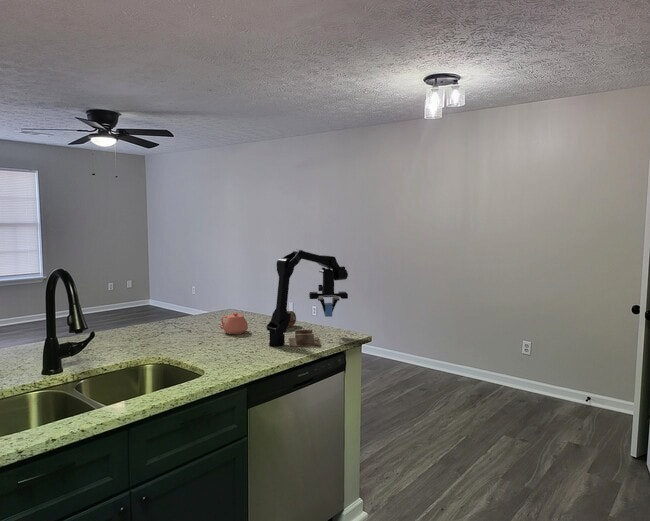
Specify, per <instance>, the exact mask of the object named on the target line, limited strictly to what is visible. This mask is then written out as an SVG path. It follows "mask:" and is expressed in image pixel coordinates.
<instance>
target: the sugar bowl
mask: <svg viewBox="0 0 650 521" xmlns="http://www.w3.org/2000/svg"><path fill="white" fill-rule="evenodd" d="M225 318H226V319H225ZM224 319H225V321H224ZM220 320H221V325H220V326H219V328H220V329H221V330H223V331H224V332H225V333H226V334H228V333H230V334H229V335H232V334H233V335H234V334H235V335H240V334H239V333H241V334H244V333H246V331H247V330H248V329H249V326H248V325H249V324H248V322H247V320H246V318H245V316H244V315H243V314H239V313H238V312H232V314H229V315H228V316H226V315H224V316H223V317H221V319H220Z"/></svg>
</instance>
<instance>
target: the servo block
mask: <svg viewBox="0 0 650 521" xmlns="http://www.w3.org/2000/svg"><path fill="white" fill-rule="evenodd" d="M324 303H325V313H324V312H323V314H324V317H325V318H327V317H328V318H331V317H333V312H332V308H333V306H332V302H324Z"/></svg>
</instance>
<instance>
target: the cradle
mask: <svg viewBox="0 0 650 521" xmlns="http://www.w3.org/2000/svg"><path fill="white" fill-rule="evenodd" d="M294 332H295V333H294V334H295V336H294V337H288V344H289V347H290V348H303V347H304V348H306V347H321V346H322V345H321V342H320V339H319V337H318V336H316V337H315V334H314V333H313V329H309V328H308V329H307V328H306V329H295V330H294Z"/></svg>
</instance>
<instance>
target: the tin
mask: <svg viewBox="0 0 650 521" xmlns="http://www.w3.org/2000/svg"><path fill="white" fill-rule="evenodd" d="M287 312H288V313H291V317H290V322H289V325H288V326H287V329H288V328H292V327H293V326H294V325H295V324H296V321H297V316H296V313H295V312H294V311H293V310H287Z"/></svg>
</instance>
